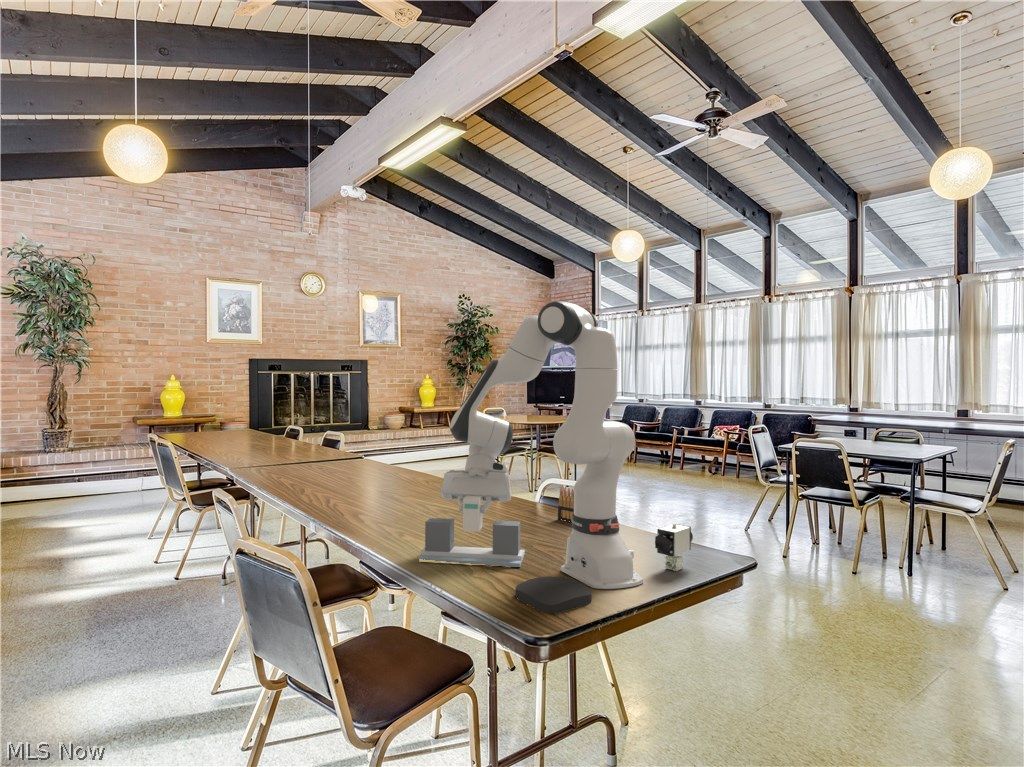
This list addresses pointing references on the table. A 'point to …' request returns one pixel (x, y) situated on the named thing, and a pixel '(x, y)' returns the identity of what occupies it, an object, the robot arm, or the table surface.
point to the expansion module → (472, 513)
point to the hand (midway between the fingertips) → (472, 512)
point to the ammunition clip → (566, 504)
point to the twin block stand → (501, 554)
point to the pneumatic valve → (673, 544)
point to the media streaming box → (553, 594)
